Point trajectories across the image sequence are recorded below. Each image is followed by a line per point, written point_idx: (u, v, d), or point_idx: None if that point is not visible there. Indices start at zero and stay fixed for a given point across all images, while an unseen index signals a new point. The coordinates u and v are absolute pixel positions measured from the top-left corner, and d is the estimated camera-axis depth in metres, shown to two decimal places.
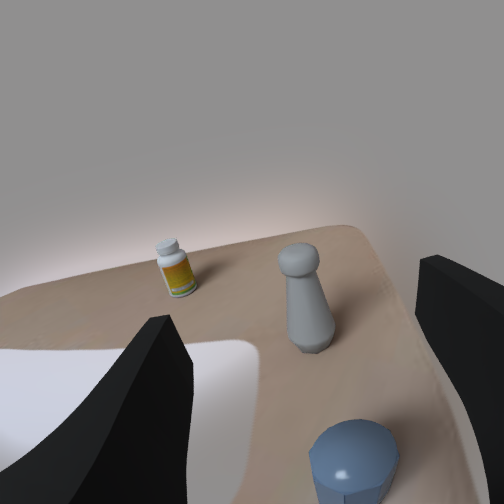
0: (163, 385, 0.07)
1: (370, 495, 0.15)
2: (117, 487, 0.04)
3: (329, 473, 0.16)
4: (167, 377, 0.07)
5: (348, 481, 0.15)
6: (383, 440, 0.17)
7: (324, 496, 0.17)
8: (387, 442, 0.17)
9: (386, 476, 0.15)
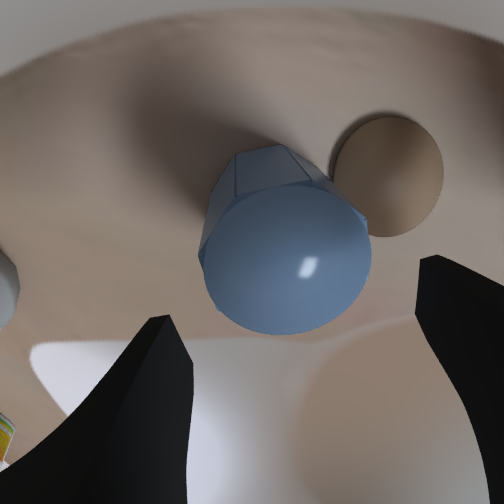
0: (163, 384, 0.07)
1: None
2: (117, 486, 0.04)
3: (326, 305, 0.12)
4: (167, 377, 0.07)
5: (349, 276, 0.11)
6: (268, 214, 0.10)
7: None
8: (276, 206, 0.10)
9: (352, 209, 0.10)
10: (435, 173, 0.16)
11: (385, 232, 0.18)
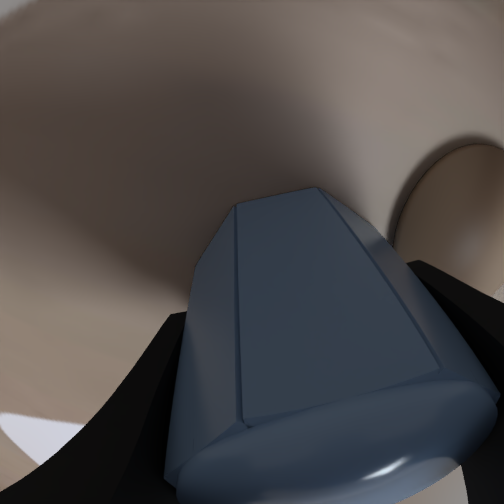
0: None
1: None
2: (149, 489, 0.04)
3: (390, 499, 0.05)
4: None
5: (440, 470, 0.04)
6: (325, 454, 0.03)
7: None
8: (347, 443, 0.03)
9: (489, 393, 0.04)
10: None
11: None
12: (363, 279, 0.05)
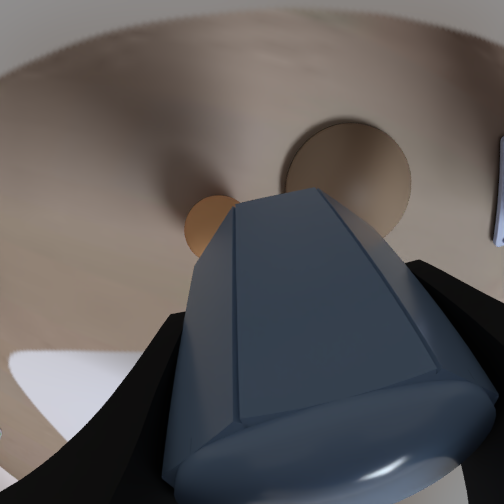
0: None
1: None
2: (149, 489, 0.04)
3: (389, 499, 0.05)
4: None
5: (438, 471, 0.04)
6: (322, 455, 0.03)
7: None
8: (344, 443, 0.03)
9: (487, 393, 0.04)
10: (401, 182, 0.16)
11: None
12: (361, 279, 0.05)
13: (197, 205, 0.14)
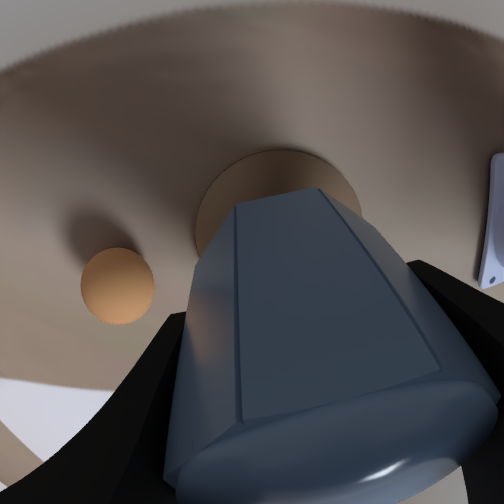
0: None
1: None
2: (149, 489, 0.04)
3: (390, 500, 0.05)
4: None
5: (440, 471, 0.04)
6: (325, 456, 0.03)
7: None
8: (348, 444, 0.03)
9: (489, 393, 0.04)
10: None
11: None
12: (363, 279, 0.05)
13: (89, 261, 0.12)
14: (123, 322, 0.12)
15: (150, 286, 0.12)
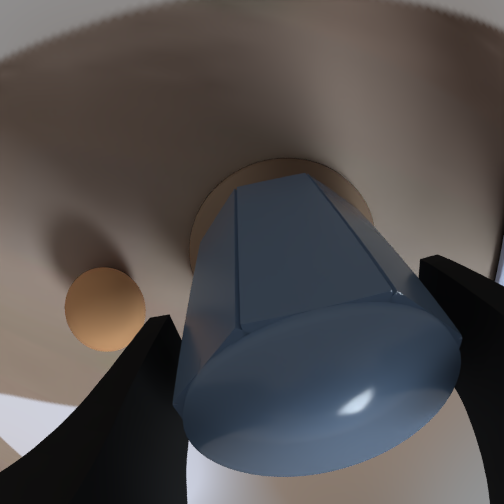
0: (163, 384, 0.07)
1: None
2: (117, 487, 0.04)
3: (374, 446, 0.06)
4: (167, 377, 0.07)
5: (417, 414, 0.06)
6: (306, 362, 0.05)
7: None
8: (322, 349, 0.04)
9: (448, 329, 0.05)
10: None
11: None
12: (337, 235, 0.06)
13: (73, 283, 0.10)
14: (112, 350, 0.11)
15: (140, 311, 0.11)
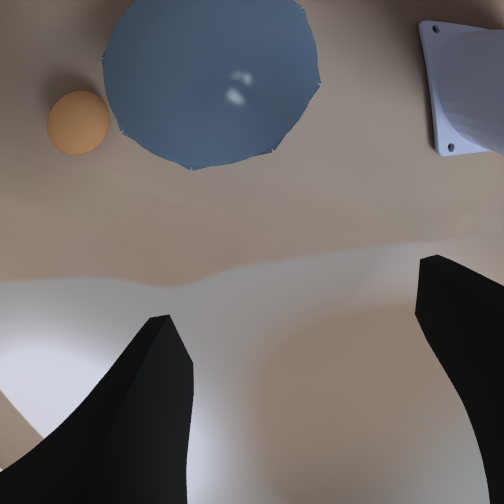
0: (163, 384, 0.07)
1: None
2: (117, 486, 0.04)
3: (262, 117, 0.08)
4: (167, 377, 0.07)
5: (290, 74, 0.07)
6: None
7: None
8: None
9: None
10: None
11: None
12: None
13: None
14: (76, 144, 0.12)
15: (104, 115, 0.13)
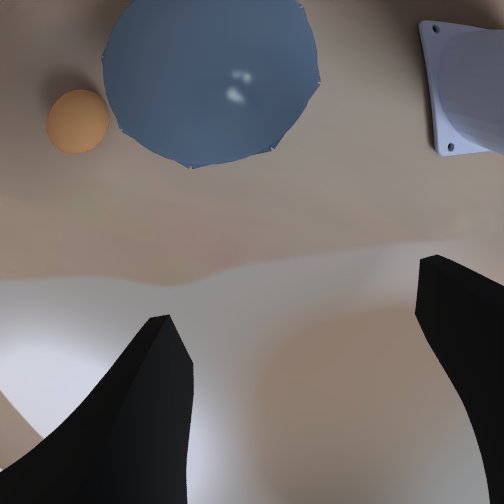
0: (163, 384, 0.07)
1: None
2: (116, 486, 0.04)
3: (262, 115, 0.08)
4: (167, 377, 0.07)
5: (289, 72, 0.07)
6: None
7: None
8: None
9: None
10: None
11: None
12: None
13: None
14: (75, 143, 0.12)
15: (104, 114, 0.13)
